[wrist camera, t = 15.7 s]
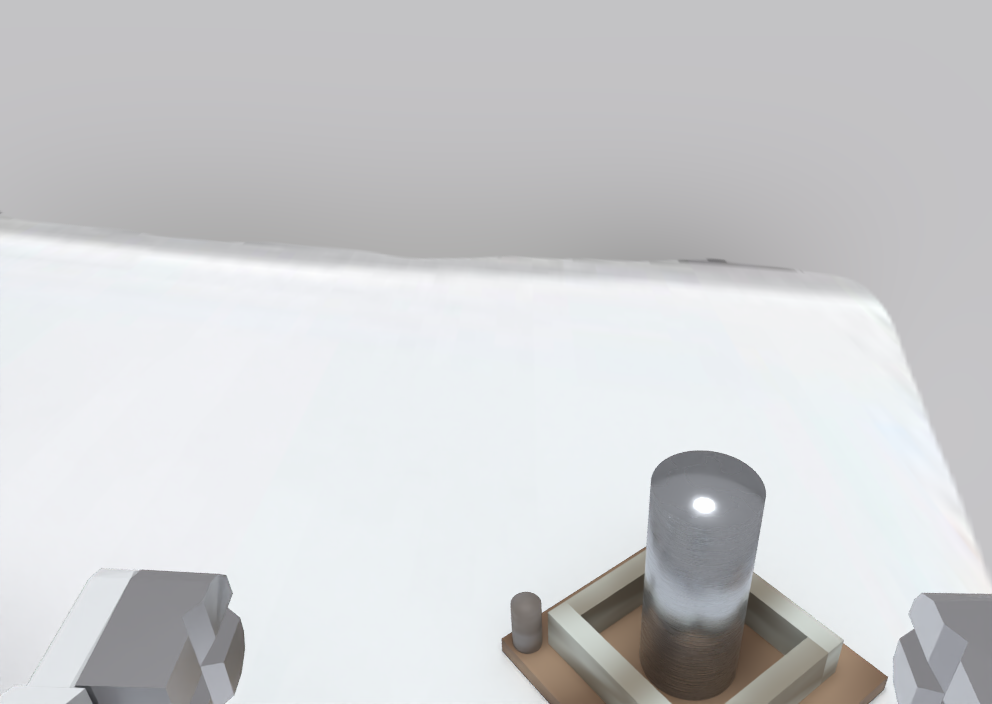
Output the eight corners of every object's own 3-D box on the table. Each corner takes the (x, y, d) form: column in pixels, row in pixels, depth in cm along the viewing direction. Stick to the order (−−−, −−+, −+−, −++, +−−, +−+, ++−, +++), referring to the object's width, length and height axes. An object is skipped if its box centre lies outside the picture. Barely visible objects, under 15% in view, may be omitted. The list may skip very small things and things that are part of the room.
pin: (619, 651, 46) (627, 481, 39) (685, 604, 48) (704, 436, 41) (689, 718, 42) (711, 544, 36) (757, 665, 45) (789, 492, 38)
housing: (502, 650, 47) (499, 601, 45) (682, 534, 54) (687, 486, 52) (692, 863, 38) (700, 813, 35) (884, 689, 44) (900, 638, 42)
